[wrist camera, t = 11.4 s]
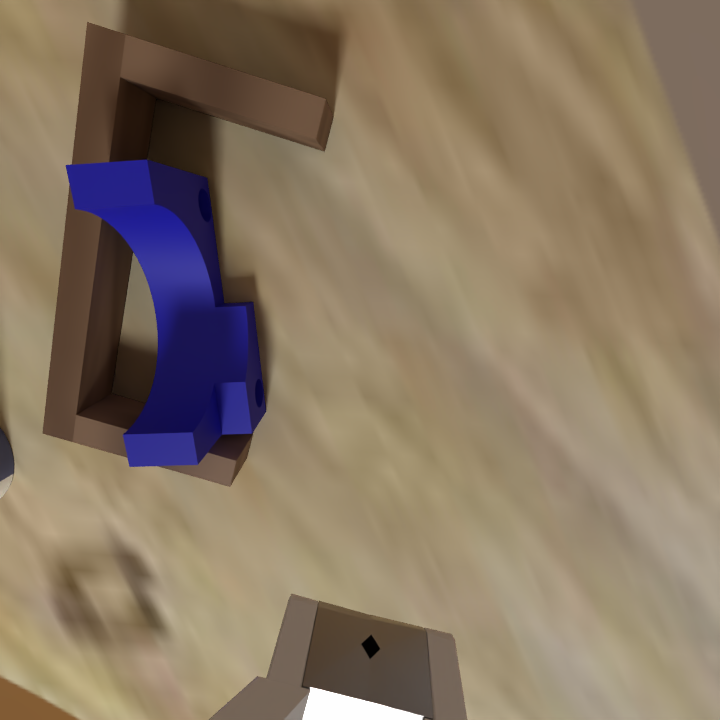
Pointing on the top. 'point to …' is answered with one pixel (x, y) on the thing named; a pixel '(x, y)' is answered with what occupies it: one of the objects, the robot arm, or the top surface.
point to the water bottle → (5, 464)
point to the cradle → (107, 246)
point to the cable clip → (179, 310)
